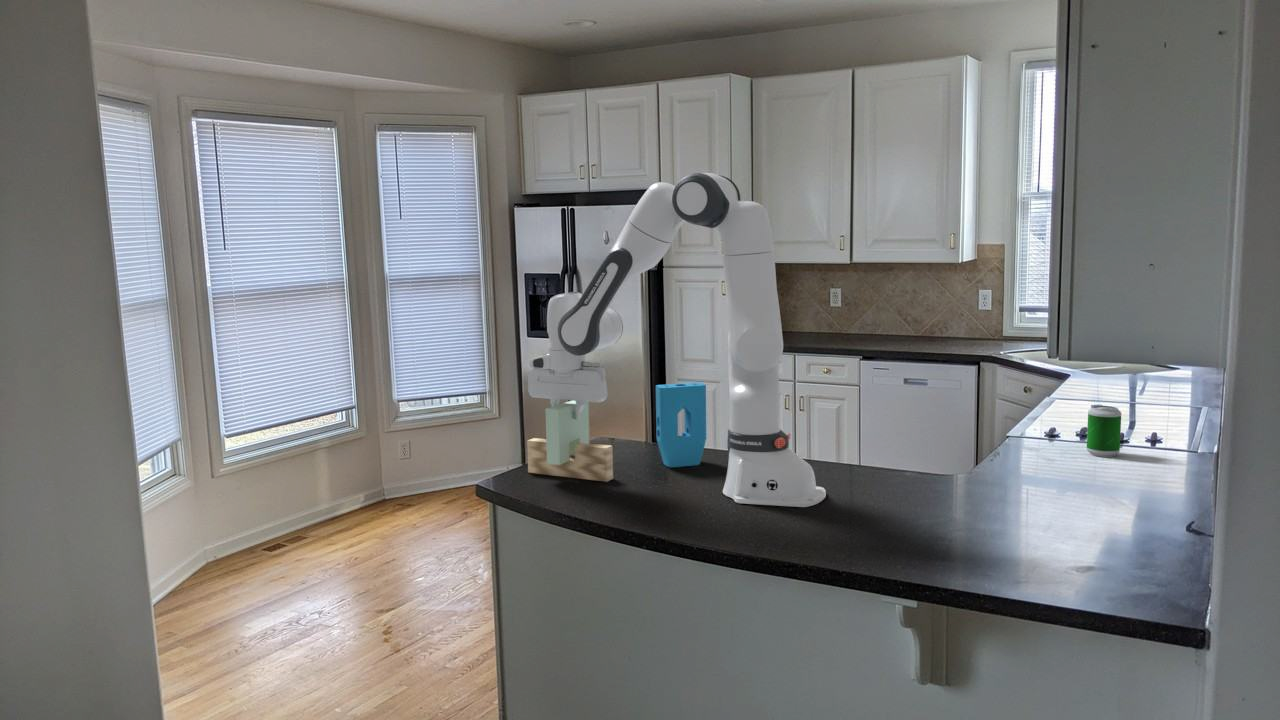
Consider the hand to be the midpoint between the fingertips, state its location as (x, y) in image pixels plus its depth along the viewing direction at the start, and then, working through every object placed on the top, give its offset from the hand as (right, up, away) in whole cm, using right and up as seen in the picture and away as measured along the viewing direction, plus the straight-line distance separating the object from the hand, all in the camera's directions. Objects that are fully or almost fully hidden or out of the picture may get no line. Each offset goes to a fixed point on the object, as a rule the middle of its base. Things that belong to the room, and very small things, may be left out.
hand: (568, 418), depth 227 cm
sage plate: (0, -10, +1) cm, 10 cm away
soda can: (+134, -10, +13) cm, 135 cm away
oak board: (0, -14, +2) cm, 14 cm away
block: (+28, -12, +11) cm, 32 cm away
